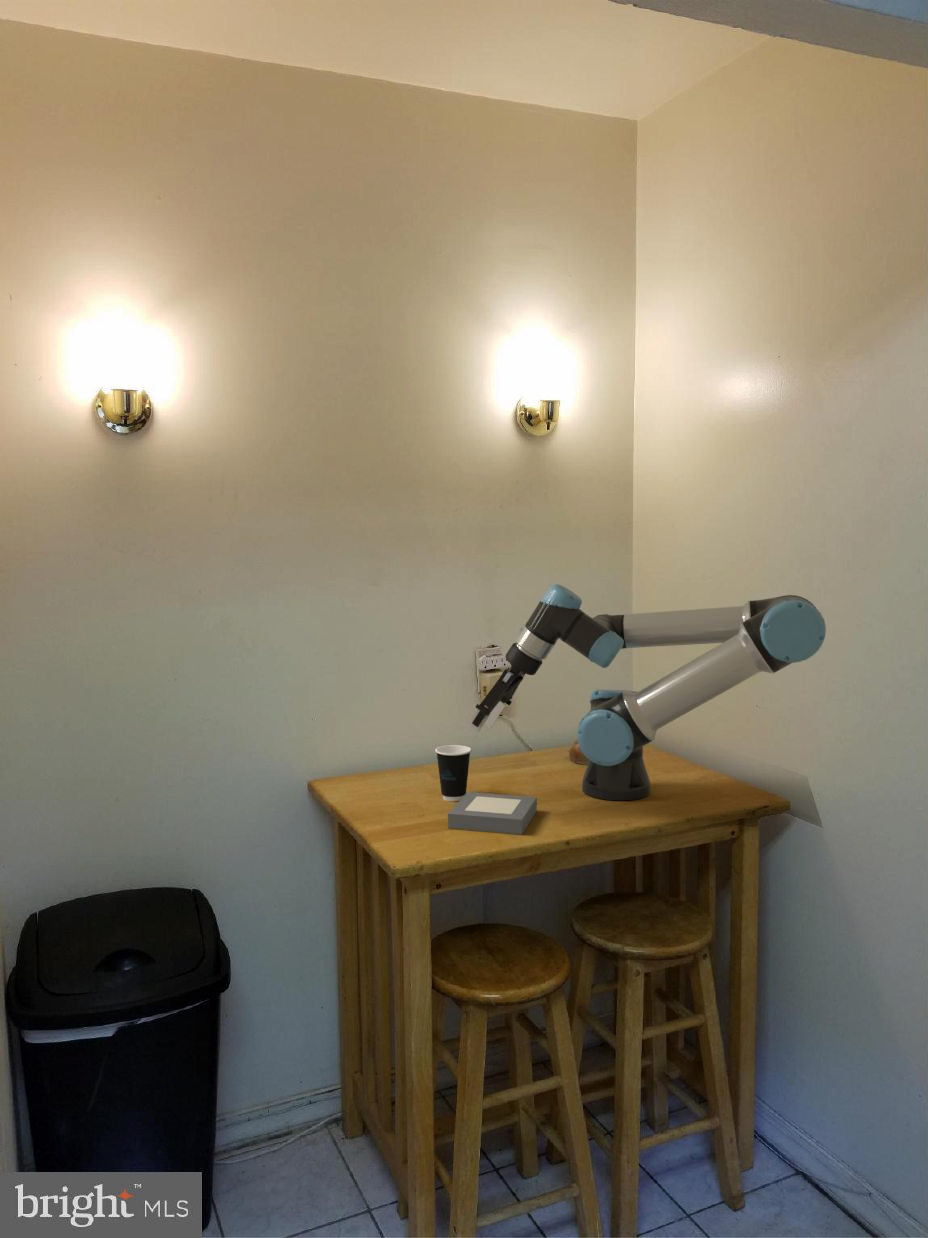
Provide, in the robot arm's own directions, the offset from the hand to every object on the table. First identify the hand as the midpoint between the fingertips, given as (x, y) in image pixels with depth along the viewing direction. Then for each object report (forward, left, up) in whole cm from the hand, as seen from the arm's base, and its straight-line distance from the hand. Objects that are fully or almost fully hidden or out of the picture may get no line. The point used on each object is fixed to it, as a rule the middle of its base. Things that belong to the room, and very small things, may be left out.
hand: (476, 730), depth 201 cm
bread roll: (-19, -38, -16) cm, 46 cm away
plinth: (-7, +13, -15) cm, 21 cm away
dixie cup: (+5, +1, -16) cm, 16 cm away
